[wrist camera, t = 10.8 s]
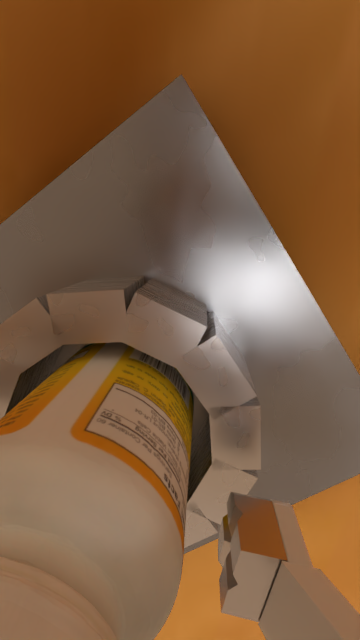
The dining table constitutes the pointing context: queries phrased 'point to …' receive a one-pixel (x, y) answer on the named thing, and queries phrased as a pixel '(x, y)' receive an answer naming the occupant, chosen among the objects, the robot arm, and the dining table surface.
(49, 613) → the supplement bottle
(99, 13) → the dining table surface
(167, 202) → the ring collar plate
